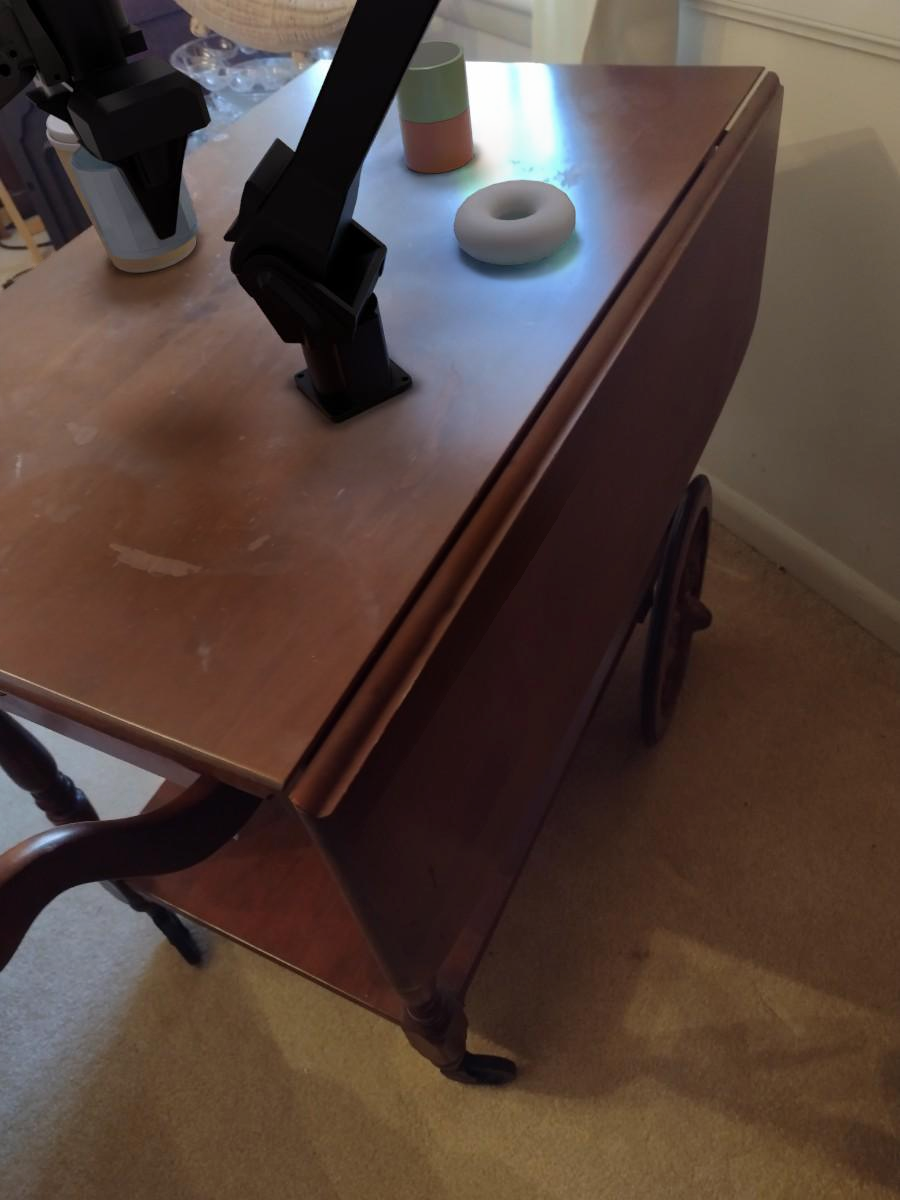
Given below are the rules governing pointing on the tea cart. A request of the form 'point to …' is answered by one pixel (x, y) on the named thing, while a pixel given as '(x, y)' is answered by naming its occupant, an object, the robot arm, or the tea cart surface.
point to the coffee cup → (65, 147)
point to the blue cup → (127, 211)
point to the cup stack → (436, 109)
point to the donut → (514, 222)
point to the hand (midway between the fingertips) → (148, 219)
